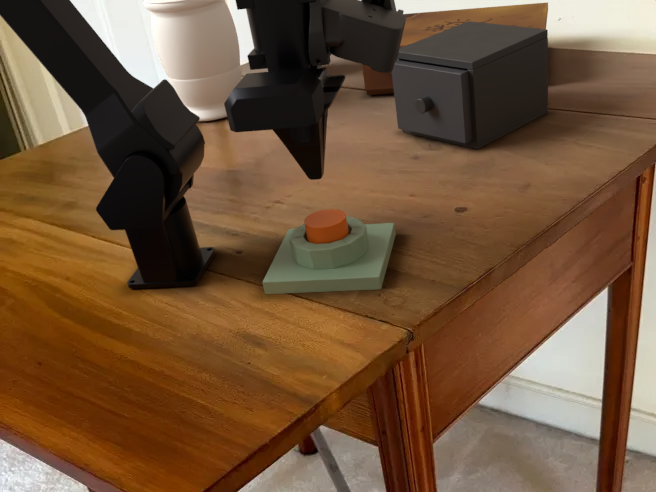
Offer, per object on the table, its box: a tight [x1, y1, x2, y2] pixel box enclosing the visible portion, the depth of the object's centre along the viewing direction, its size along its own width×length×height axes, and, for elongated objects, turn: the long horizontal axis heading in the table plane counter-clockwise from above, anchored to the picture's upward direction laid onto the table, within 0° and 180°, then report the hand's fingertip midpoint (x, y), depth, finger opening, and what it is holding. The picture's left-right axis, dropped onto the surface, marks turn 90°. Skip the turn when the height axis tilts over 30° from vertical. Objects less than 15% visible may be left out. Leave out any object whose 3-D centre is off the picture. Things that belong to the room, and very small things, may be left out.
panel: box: [262, 215, 397, 295], centre depth 72 cm, size 10×10×3 cm
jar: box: [142, 0, 242, 122], centre depth 107 cm, size 11×10×15 cm
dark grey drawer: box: [392, 60, 473, 144], centre depth 92 cm, size 13×10×7 cm
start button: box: [303, 208, 349, 244], centre depth 70 cm, size 4×4×2 cm
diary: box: [361, 2, 549, 96], centre depth 111 cm, size 23×19×6 cm
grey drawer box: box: [397, 21, 549, 150], centre depth 93 cm, size 13×12×9 cm
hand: (316, 177), depth 68 cm, fingers closed
